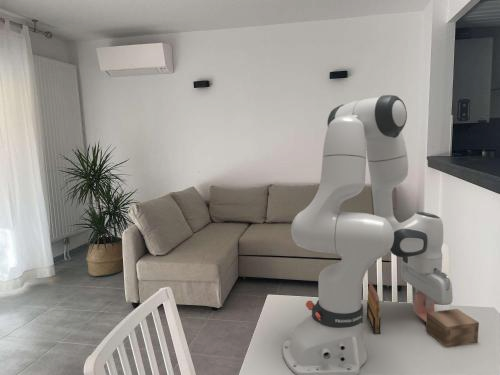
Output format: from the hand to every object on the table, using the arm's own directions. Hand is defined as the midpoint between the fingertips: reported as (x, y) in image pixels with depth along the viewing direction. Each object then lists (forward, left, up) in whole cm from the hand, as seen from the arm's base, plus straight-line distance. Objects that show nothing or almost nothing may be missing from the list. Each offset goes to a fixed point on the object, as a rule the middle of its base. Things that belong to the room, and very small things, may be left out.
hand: (424, 304), depth 111 cm
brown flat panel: (-18, -1, -4) cm, 19 cm away
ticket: (0, -6, -3) cm, 7 cm away
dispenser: (0, -12, -4) cm, 13 cm away
